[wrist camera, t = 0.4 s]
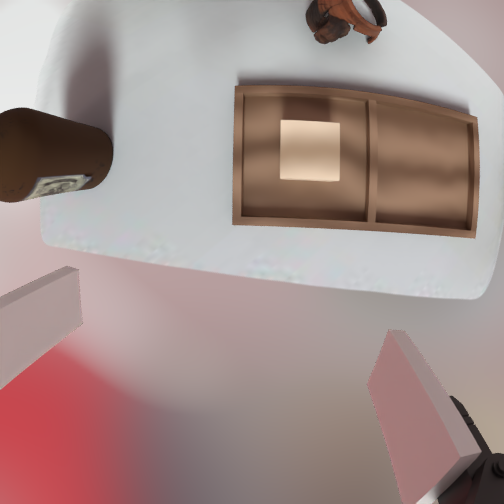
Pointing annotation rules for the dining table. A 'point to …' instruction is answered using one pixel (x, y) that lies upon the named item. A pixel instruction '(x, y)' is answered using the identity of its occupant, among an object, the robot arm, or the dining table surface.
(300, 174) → the beech block
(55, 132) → the olive oil
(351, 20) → the pottery mug
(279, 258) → the dining table surface
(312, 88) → the walnut tray
